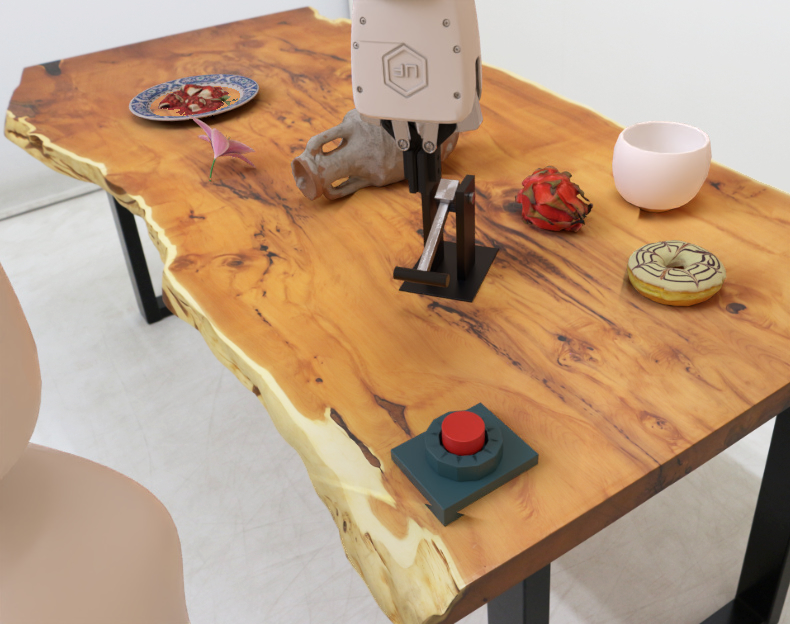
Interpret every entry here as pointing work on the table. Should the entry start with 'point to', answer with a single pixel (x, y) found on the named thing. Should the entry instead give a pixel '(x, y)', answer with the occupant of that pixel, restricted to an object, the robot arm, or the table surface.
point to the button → (463, 433)
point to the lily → (223, 144)
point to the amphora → (353, 159)
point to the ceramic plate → (194, 96)
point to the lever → (433, 240)
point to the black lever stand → (455, 248)
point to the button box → (462, 465)
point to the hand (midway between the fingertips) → (423, 187)
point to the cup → (660, 164)
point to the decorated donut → (675, 273)
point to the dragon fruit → (552, 200)
